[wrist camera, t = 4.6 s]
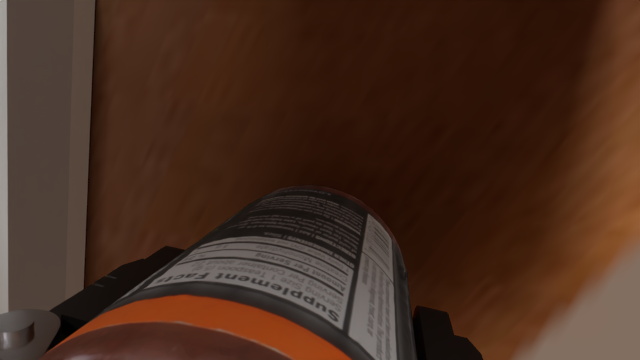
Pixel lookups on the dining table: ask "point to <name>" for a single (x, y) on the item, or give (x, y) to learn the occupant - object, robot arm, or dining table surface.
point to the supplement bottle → (267, 291)
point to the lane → (44, 149)
